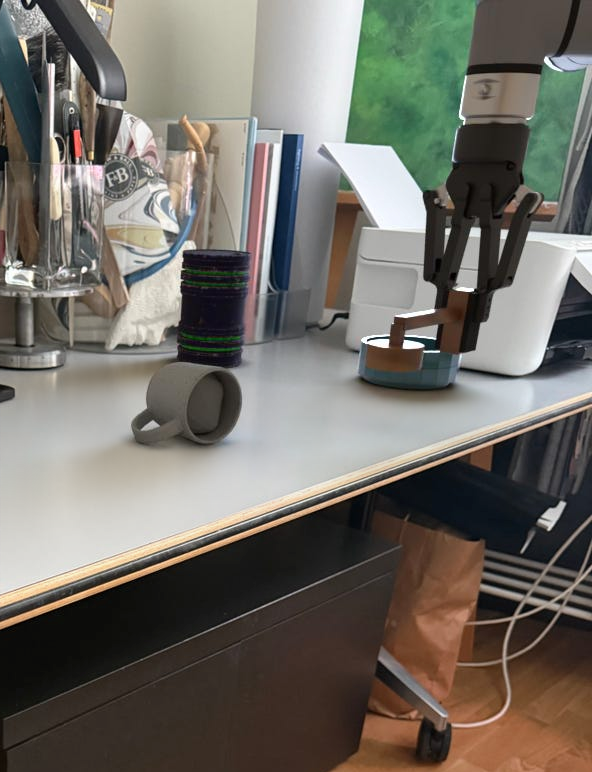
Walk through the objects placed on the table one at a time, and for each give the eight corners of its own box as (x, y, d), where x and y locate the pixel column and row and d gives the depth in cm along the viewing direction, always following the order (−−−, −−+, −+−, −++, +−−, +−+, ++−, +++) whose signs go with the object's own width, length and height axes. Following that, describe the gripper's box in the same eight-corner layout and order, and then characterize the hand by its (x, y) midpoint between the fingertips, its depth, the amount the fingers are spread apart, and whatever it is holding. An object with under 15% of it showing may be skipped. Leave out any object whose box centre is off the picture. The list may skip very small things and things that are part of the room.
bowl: (462, 378, 131) (470, 341, 129) (446, 395, 121) (453, 355, 119) (369, 367, 137) (374, 332, 134) (345, 383, 126) (350, 345, 124)
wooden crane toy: (437, 347, 114) (447, 286, 110) (484, 354, 110) (496, 291, 107) (353, 366, 102) (362, 298, 99) (403, 374, 98) (413, 304, 95)
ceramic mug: (192, 422, 104) (196, 351, 101) (241, 439, 98) (246, 364, 95) (114, 435, 99) (115, 361, 96) (160, 454, 93) (163, 376, 90)
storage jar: (167, 364, 135) (173, 252, 128) (184, 353, 143) (190, 248, 136) (235, 370, 132) (245, 256, 125) (248, 358, 140) (258, 251, 134)
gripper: (411, 122, 102) (380, 344, 113) (551, 119, 93) (503, 362, 103) (444, 125, 107) (412, 337, 118) (581, 122, 97) (532, 354, 108)
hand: (454, 348), depth 111 cm, fingers closed on wooden crane toy, 2 cm apart
